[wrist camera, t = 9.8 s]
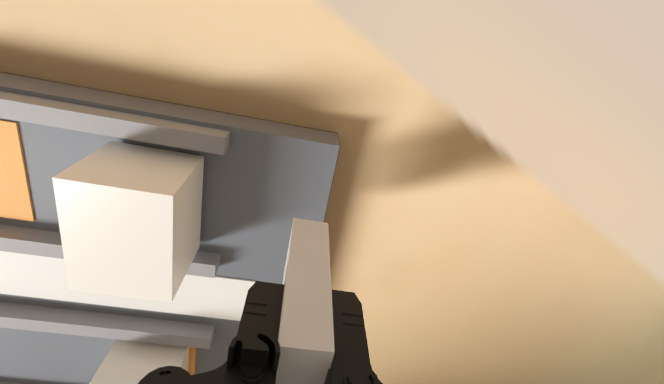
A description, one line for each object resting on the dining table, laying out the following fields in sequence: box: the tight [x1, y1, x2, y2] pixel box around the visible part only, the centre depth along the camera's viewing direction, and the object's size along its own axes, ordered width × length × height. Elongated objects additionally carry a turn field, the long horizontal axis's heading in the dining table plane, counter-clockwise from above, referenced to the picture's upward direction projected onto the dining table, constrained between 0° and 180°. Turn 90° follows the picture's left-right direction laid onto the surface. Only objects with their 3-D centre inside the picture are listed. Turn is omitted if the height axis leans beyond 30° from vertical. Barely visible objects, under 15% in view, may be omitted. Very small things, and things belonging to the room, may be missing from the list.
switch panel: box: [0, 72, 340, 384], centre depth 20 cm, size 20×24×3 cm
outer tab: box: [52, 141, 204, 302], centre depth 16 cm, size 5×4×4 cm
